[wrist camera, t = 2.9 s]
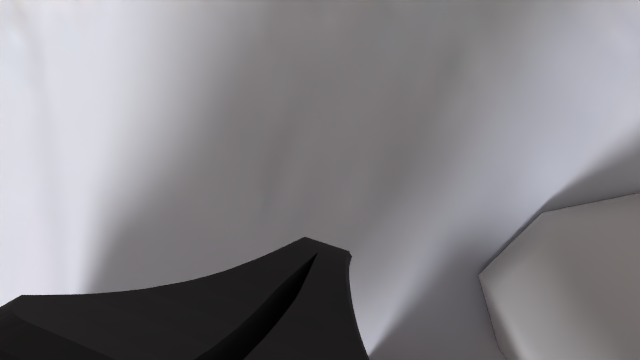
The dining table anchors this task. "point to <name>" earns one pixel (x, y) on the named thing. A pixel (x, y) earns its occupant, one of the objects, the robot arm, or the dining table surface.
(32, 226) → the dining table surface
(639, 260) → the flask
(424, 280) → the dining table surface
